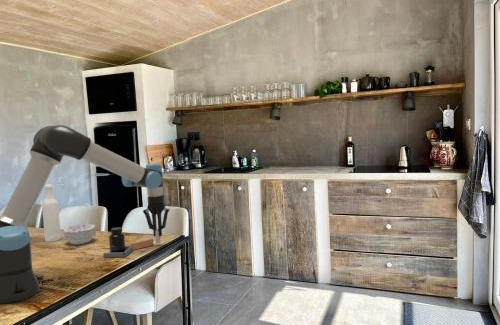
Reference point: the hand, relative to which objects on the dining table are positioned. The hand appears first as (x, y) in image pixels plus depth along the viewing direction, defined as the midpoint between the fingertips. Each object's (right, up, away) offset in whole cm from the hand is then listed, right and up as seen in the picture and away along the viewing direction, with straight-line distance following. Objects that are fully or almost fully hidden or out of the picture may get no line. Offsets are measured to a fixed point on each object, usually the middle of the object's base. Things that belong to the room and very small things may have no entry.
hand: (158, 242), depth 191 cm
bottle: (-61, -3, +18) cm, 64 cm away
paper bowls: (-43, -2, +12) cm, 45 cm away
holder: (-12, -2, -8) cm, 14 cm away
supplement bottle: (-16, -3, -11) cm, 20 cm away
